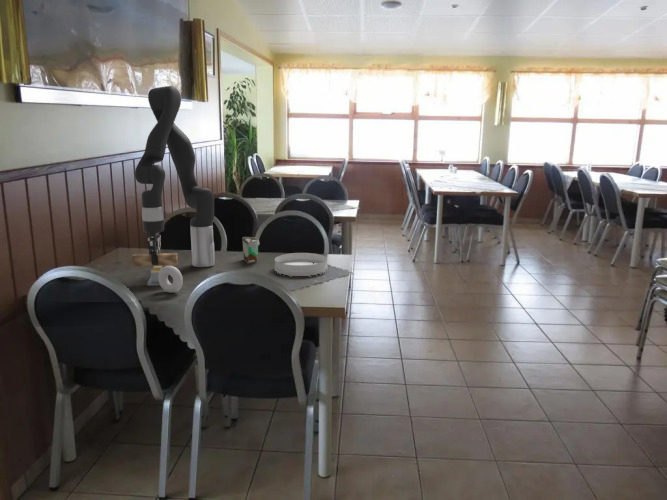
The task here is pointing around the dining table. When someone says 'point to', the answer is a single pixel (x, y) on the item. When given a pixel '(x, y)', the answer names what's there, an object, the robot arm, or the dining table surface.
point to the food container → (250, 249)
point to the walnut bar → (163, 259)
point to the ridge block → (154, 276)
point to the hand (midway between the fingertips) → (155, 263)
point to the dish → (300, 263)
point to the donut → (165, 282)
